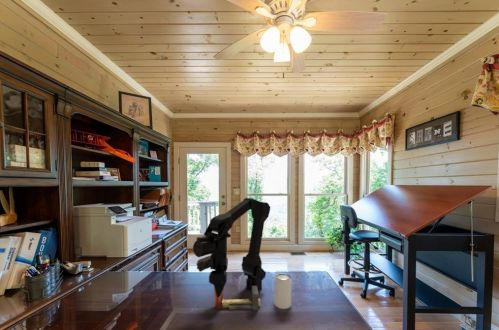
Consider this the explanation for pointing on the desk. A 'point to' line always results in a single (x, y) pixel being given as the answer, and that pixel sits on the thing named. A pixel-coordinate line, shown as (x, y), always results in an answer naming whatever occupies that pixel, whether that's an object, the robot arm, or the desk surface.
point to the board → (254, 306)
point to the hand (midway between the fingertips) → (219, 290)
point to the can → (282, 291)
